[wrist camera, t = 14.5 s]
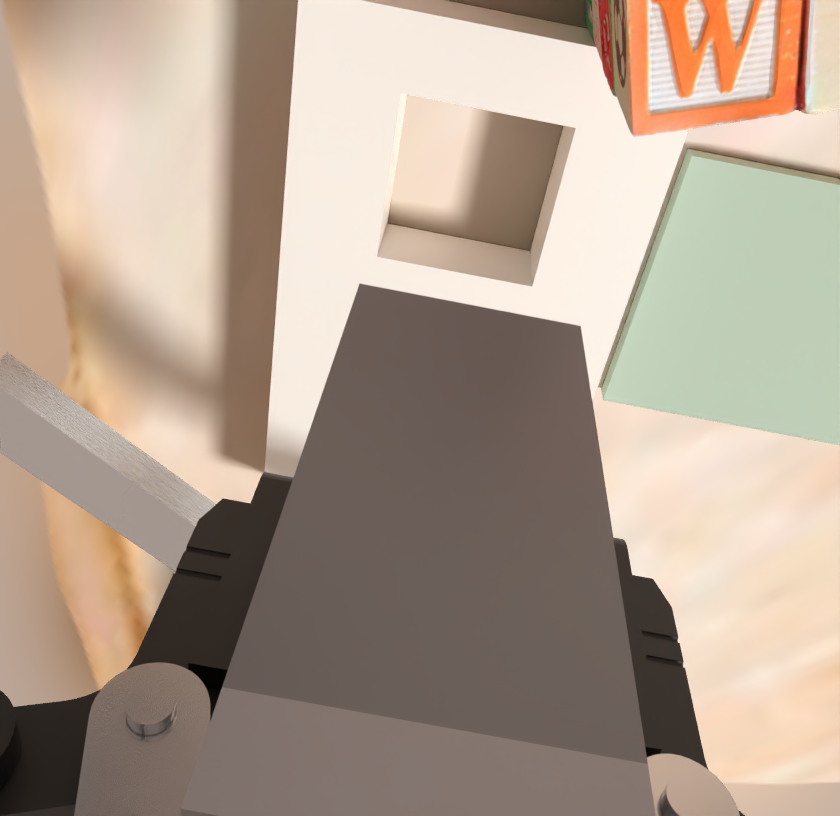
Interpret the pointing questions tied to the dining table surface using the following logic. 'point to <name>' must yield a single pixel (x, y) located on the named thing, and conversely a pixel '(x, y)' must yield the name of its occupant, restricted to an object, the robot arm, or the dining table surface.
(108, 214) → the dining table surface
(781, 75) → the stack of blocks
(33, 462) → the clip
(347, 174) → the socket block
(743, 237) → the mat
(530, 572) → the plug
